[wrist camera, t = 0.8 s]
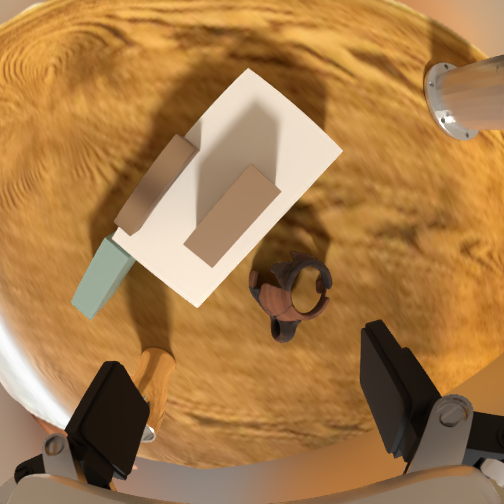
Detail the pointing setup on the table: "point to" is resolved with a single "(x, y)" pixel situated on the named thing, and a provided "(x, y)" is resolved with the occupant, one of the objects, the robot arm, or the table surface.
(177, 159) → the brown rectangular block
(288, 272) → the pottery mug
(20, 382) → the table surface
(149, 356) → the beer glass
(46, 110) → the table surface
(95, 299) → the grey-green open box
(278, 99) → the lid
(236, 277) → the table surface
